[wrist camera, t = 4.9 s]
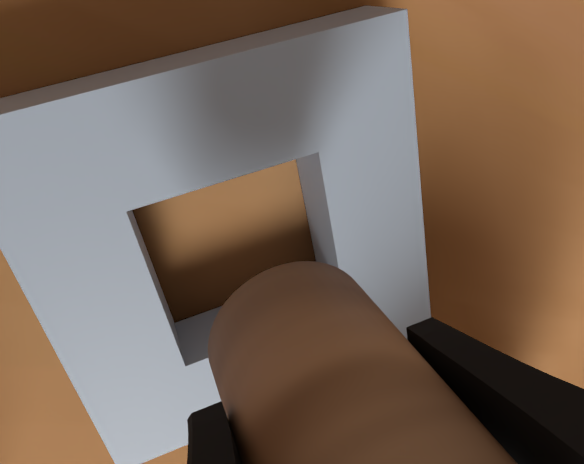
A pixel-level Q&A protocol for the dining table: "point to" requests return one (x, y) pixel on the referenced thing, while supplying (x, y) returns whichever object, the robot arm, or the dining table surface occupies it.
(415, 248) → the socket block
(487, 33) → the dining table surface
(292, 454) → the dowel
